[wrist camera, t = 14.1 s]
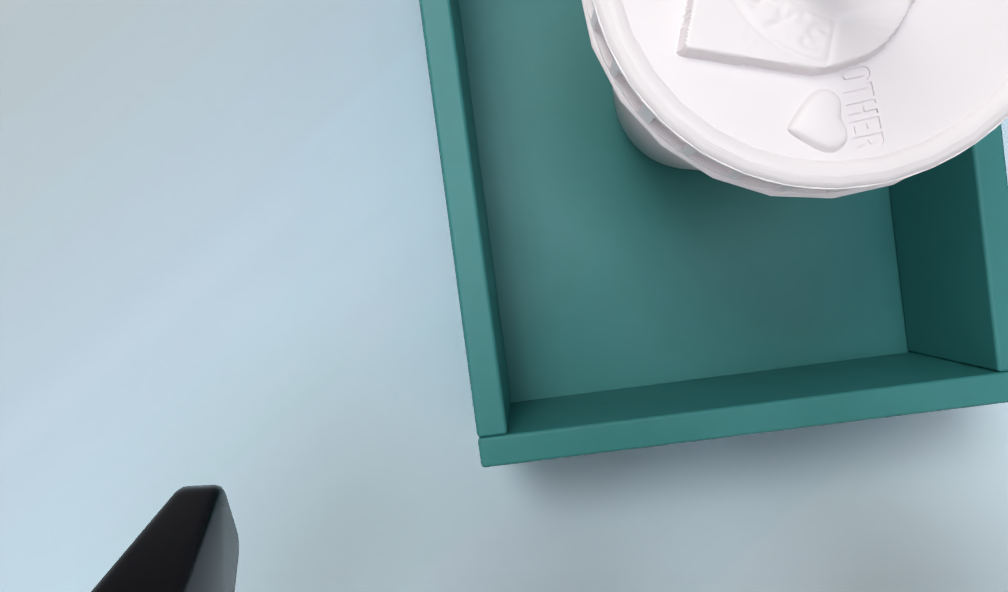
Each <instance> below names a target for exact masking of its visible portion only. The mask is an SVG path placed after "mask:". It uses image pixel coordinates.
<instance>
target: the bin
mask: <svg viewBox="0 0 1008 592" xmlns="http://www.w3.org/2000/svg"><path fill="white" fill-rule="evenodd" d="M419 2H420V9H421V17H422V24H423V32H424V39H425V47H426V54H427V62H428V69H429V77H430V84H431V92H432V99H433V107H434V114H435V122H436V129H437V137H438V144H439V152H440V159H441V167H442V174H443V182H444V189H445V197H446V204H447V212H448V219H449V227H450V234H451V242H452V249H453V257H454V264H455V272H456V279H457V286H458V294H459V301H460V309H461V316H462V324H463V331H464V339H465V346H466V354H467V361H468V369H469V376H470V384H471V391H472V399H473V406H474V414H475V421H476V429H477V434H478V436H479V440H478V444H479V451H480V459H481V464H482V466H483V467H491V466H500V465H508V464H516V463H524V462H532V461H540V460H548V459H556V458H564V457H572V456H580V455H588V454H596V453H604V452H612V451H620V450H628V449H636V448H644V447H652V446H660V445H668V444H676V443H684V442H692V441H700V440H708V439H716V438H724V437H732V436H740V435H748V434H756V433H764V432H772V431H780V430H788V429H796V428H804V427H812V426H820V425H828V424H836V423H844V422H852V421H860V420H868V419H876V418H884V417H892V416H900V415H909V414H917V413H925V412H933V411H941V410H949V409H957V408H965V407H973V406H981V405H989V404H997V403H1005V402H1008V183H1007V174H1006V165H1005V156H1004V147H1003V138H1002V129H1001V124H1000V125H999V126H998V127H996V128H995V129H994V130H993V131H992V132H990V133H989V134H988V135H986V136H985V137H984V138H982V139H981V140H980V141H978V142H977V143H976V144H974V145H973V146H971V147H970V148H968V149H966V150H965V151H963V152H962V153H960V154H958V155H957V156H955V157H953V158H951V159H949V160H947V161H945V162H943V163H941V164H939V165H937V166H935V167H933V168H931V169H928V170H926V171H923V172H920V173H918V174H915V175H913V176H910V177H907V178H905V179H903V180H901V181H899V182H897V183H896V184H894V185H890V186H886V187H881V188H877V189H872V190H868V191H863V192H859V193H854V194H850V195H846V196H841V197H837V198H807V197H781V196H769V195H766V194H762V193H759V192H756V191H753V190H749V189H746V188H743V187H740V186H736V185H733V184H730V183H727V182H723V181H720V180H717V179H714V178H711V177H710V176H708V175H707V174H705V173H704V172H702V171H700V170H689V169H679V168H674V167H670V166H667V165H663V164H661V163H659V162H657V161H655V160H653V159H651V158H649V157H648V156H647V155H645V154H644V153H642V152H641V151H640V150H639V149H638V148H637V147H636V146H635V145H634V144H633V143H632V142H631V140H630V139H629V138H628V137H627V135H626V133H625V132H624V130H623V128H622V126H621V124H620V122H619V119H618V117H617V113H616V109H615V104H614V96H613V88H612V85H611V83H610V81H609V79H608V77H607V75H606V73H605V71H604V69H603V67H602V65H601V64H600V62H599V60H598V58H597V56H596V54H595V52H594V50H593V48H592V46H591V41H590V37H589V32H588V27H587V23H586V18H585V14H584V9H583V5H582V0H419Z"/></svg>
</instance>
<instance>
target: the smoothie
mask: <svg viewBox="0 0 1008 592" xmlns="http://www.w3.org/2000/svg"><path fill="white" fill-rule="evenodd" d="M582 5H583V9H584V14H585V18H586V23H587V27H588V32H589V37H590V41H591V46H592V48H593V50H594V52H595V54H596V56H597V58H598V60H599V62H600V64H601V65H602V67H603V69H604V71H605V73H606V75H607V77H608V79H609V81H610V83H611V85H612V88H613V96H614V104H615V109H616V113H617V117H618V119H619V122H620V124H621V126H622V128H623V130H624V132H625V133H626V135H627V137H628V138H629V139H630V140H631V142H632V143H633V144H634V145H635V146H636V147H637V148H638V149H639V150H640V151H641V152H642V153H644V154H645V155H647V156H648V157H649V158H651V159H653V160H655V161H657V162H659V163H661V164H663V165H667V166H670V167H674V168H679V169H689V170H700V171H702V172H704V173H705V174H707V175H708V176H710V177H711V178H714V179H717V180H720V181H723V182H727V183H730V184H733V185H736V186H740V187H743V188H746V189H749V190H753V191H756V192H759V193H762V194H766V195H769V196H781V197H807V198H837V197H841V196H846V195H850V194H854V193H859V192H863V191H868V190H872V189H877V188H881V187H886V186H890V185H894V184H896V183H897V182H899V181H901V180H903V179H905V178H907V177H910V176H913V175H915V174H918V173H920V172H923V171H926V170H928V169H931V168H933V167H935V166H937V165H939V164H941V163H943V162H945V161H947V160H949V159H951V158H953V157H955V156H957V155H958V154H960V153H962V152H963V151H965V150H966V149H968V148H970V147H971V146H973V145H974V144H976V143H977V142H978V141H980V140H981V139H982V138H984V137H985V136H986V135H988V134H989V133H990V132H992V131H993V130H994V129H995V128H996V127H998V126H999V125H1000V124H1001V123H1002V122H1003V121H1004V120H1005V119H1006V118H1007V117H1008V0H582Z"/></svg>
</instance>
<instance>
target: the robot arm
mask: <svg viewBox="0 0 1008 592" xmlns="http://www.w3.org/2000/svg"><path fill="white" fill-rule="evenodd" d="M238 555H239V541H238V534H237V530H236V527H235V523H234V520H233V517H232V513H231V510H230V506H229V503H228V500H227V496H226V494H225V491H224V490H223V489H222V487H220V486H218V485H202V486H186V487H183V488H181V489H179V490H178V491H176V492H175V493H174V495H173V496H172V497H171V498H170V499H169V500H168V502H167V503H166V504H165V505H164V506H163V508H162V509H161V510H160V511H159V512H158V513H157V515H156V516H155V517H154V518H153V519H152V521H151V522H150V523H149V524H148V525H147V526H146V528H145V529H144V530H143V531H142V532H141V534H140V535H139V536H138V537H137V538H136V539H135V541H134V542H133V543H132V544H131V545H130V547H129V548H128V549H127V550H126V551H125V552H124V554H123V555H122V556H121V557H120V558H119V560H118V561H117V562H116V563H115V564H114V565H113V567H112V568H111V569H110V570H109V571H108V573H107V574H106V575H105V576H104V577H103V578H102V580H101V581H100V582H99V583H98V584H97V586H96V587H95V588H94V589H93V590H92V591H91V592H235V583H236V574H237V565H238Z"/></svg>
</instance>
